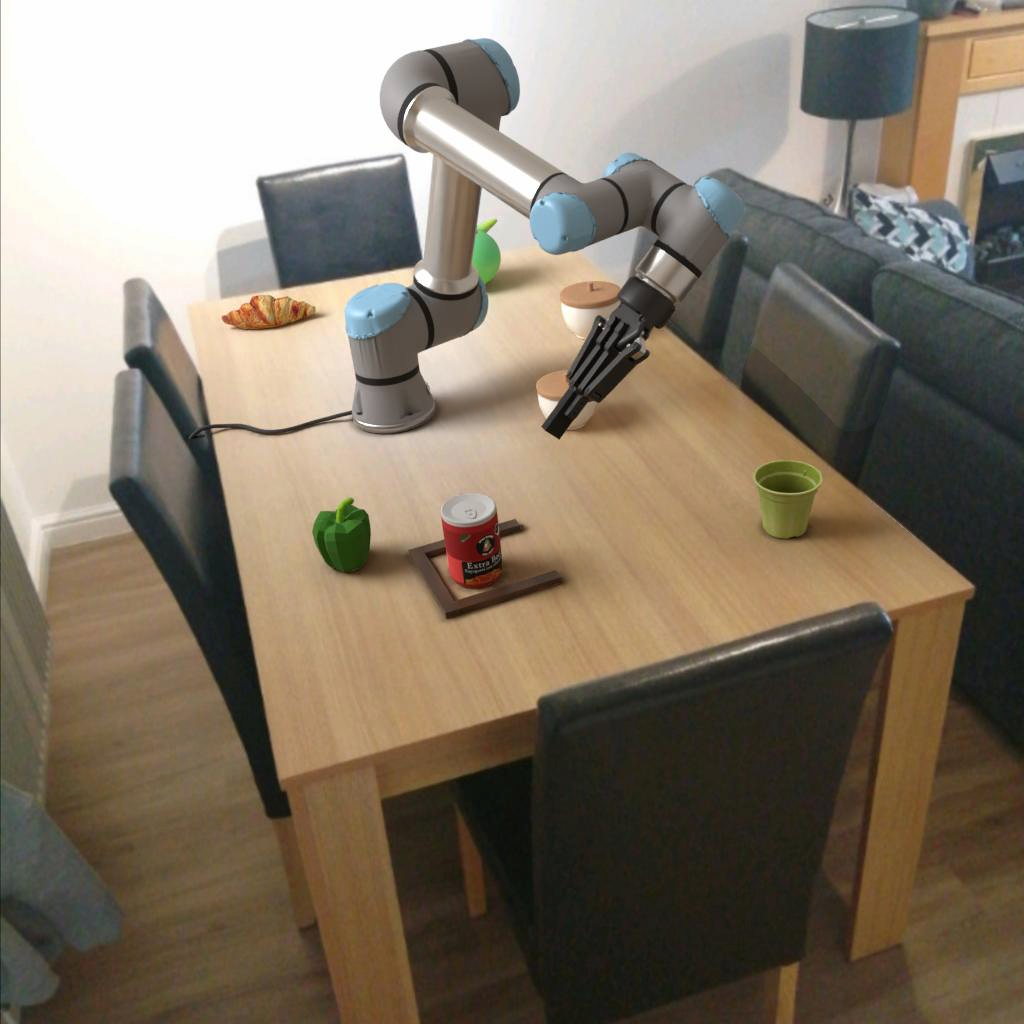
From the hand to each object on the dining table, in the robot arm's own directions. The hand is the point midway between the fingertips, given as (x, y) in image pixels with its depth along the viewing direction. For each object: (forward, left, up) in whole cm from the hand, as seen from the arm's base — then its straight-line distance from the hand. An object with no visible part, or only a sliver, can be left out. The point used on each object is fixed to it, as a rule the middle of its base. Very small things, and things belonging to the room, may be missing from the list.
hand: (550, 432), depth 142 cm
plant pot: (+32, +6, -18) cm, 37 cm away
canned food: (-10, -8, -18) cm, 23 cm away
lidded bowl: (-5, +78, -18) cm, 80 cm away
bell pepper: (-30, -7, -18) cm, 36 cm away
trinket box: (-4, +38, -18) cm, 42 cm away
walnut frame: (-9, -7, -18) cm, 21 cm away
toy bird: (-39, +107, -18) cm, 115 cm away
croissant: (-80, +85, -18) cm, 118 cm away
